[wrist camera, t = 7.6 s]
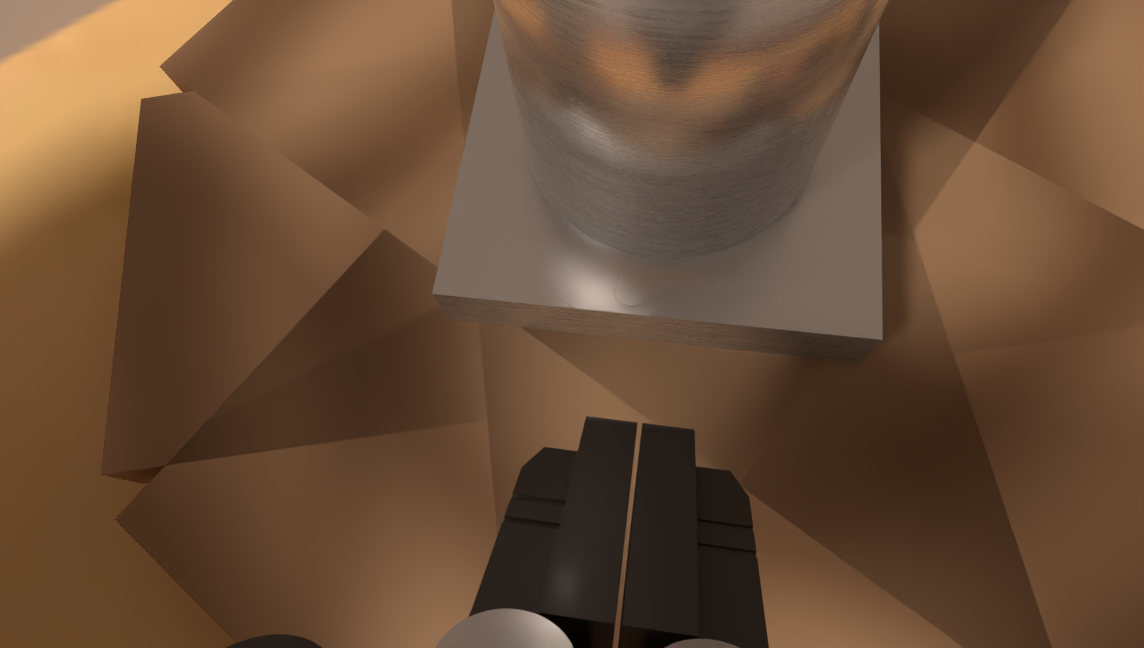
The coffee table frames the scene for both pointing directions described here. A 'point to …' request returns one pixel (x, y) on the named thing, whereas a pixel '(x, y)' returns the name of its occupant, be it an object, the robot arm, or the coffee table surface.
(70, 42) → the coffee table surface
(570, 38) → the silver post on plate
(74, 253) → the coffee table surface
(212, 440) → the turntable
